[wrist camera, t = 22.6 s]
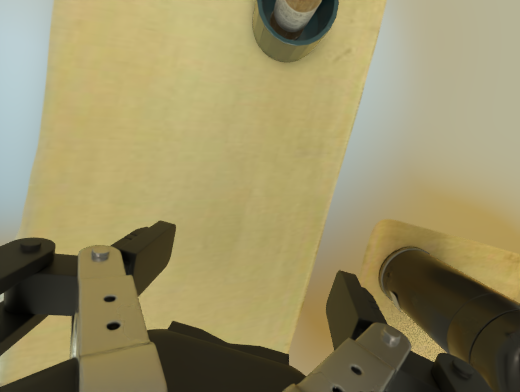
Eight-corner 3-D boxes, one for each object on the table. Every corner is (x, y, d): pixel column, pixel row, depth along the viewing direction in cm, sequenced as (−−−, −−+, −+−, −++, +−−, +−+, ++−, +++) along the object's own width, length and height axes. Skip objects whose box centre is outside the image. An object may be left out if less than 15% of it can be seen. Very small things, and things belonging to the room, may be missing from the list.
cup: (326, -4, 37) (346, -35, 30) (312, 68, 38) (329, 53, 32) (258, -21, 36) (265, -57, 29) (247, 54, 37) (250, 35, 31)
